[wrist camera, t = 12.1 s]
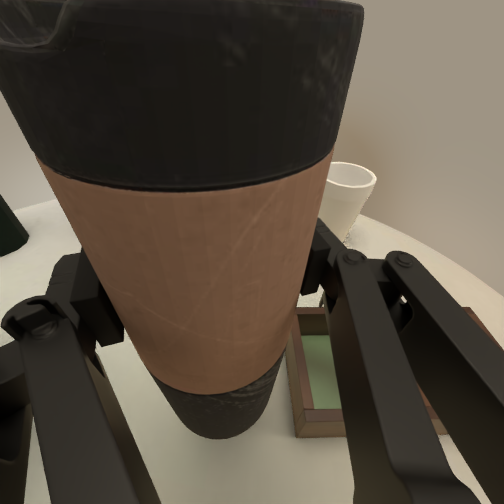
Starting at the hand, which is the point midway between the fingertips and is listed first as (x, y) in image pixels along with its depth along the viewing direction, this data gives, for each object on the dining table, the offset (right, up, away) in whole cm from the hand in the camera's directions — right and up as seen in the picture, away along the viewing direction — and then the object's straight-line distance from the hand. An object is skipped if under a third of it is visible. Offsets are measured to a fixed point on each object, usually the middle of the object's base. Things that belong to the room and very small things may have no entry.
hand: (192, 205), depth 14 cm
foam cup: (+18, 0, +37) cm, 41 cm away
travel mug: (+1, -12, +5) cm, 13 cm away
